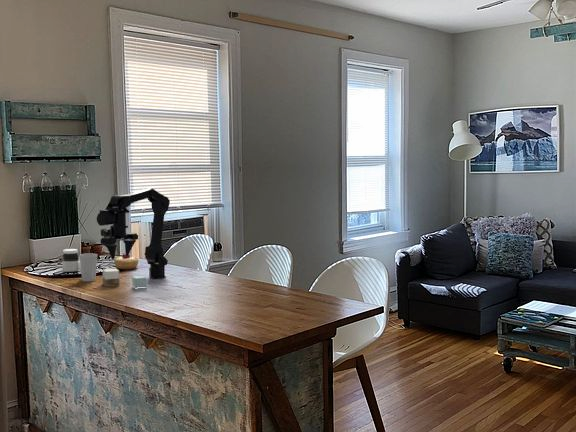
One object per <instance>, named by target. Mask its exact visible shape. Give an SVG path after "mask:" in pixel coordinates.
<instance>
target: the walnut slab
mask: <svg viewBox="0 0 576 432" xmlns="http://www.w3.org/2000/svg"><path fill="white" fill-rule="evenodd" d="M103 284H104V285H105V286H104V285H103ZM102 285H103V286H104V287H106V286H109V287H114V286H113V285H119V286H120V277H119V278H118V279H105V278H103V277H102Z"/></svg>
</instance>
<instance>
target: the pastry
mask: <svg viewBox="0 0 576 432" xmlns="http://www.w3.org/2000/svg"><path fill="white" fill-rule="evenodd" d="M113 261H114V263H113V264H114V266H115V268H116V269H117V270H125V271H128V270H135V269H136V268H137V267H138V265H139V259H138V258H137V257H134V256H131V255H130V254H129V255H128V256H126V253H123V254H122V255H121V256H119V257H118V256H117V257H115V258H114V259H113Z"/></svg>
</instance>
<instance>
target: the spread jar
mask: <svg viewBox="0 0 576 432" xmlns="http://www.w3.org/2000/svg"><path fill="white" fill-rule="evenodd" d="M78 253H79V252H78V248H65V249H63V250H62V255H61V256H62V257H61V261H62V262H61V263H62V264H61V266H62V269H61V270H62V274H63V273H67V274H69V273H77V274H79V272H80V273H81V263H80V256H79V254H78ZM67 274H66V275H67Z"/></svg>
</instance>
